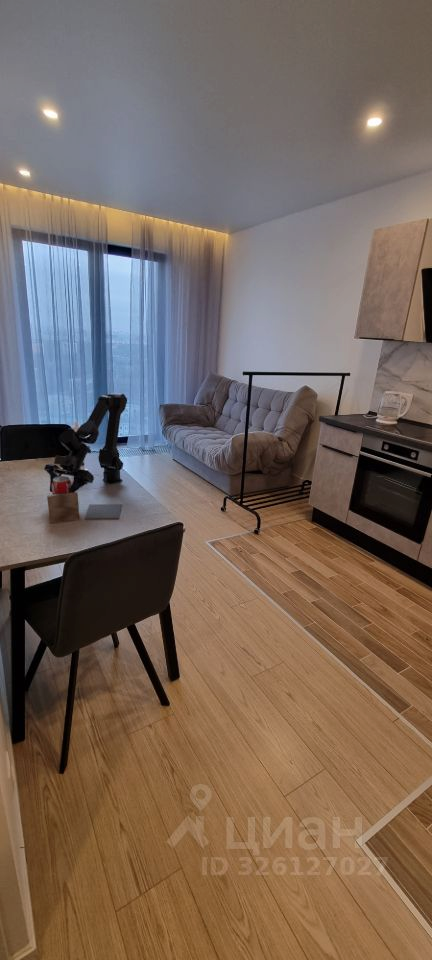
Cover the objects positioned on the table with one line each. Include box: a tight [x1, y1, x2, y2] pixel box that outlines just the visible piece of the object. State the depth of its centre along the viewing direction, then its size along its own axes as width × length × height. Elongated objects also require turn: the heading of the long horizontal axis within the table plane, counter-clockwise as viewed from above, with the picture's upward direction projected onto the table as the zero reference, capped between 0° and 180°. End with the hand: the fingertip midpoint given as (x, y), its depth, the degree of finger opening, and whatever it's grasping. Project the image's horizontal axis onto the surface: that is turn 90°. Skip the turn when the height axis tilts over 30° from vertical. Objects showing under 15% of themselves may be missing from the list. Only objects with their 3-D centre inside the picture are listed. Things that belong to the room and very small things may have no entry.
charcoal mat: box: [84, 503, 122, 521], centre depth 147 cm, size 12×12×1 cm
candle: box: [71, 419, 89, 471], centre depth 183 cm, size 7×7×25 cm
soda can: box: [51, 475, 73, 495], centre depth 146 cm, size 7×7×12 cm
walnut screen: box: [46, 491, 81, 524], centre depth 139 cm, size 10×4×9 cm, turn 112°
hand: (59, 493), depth 145 cm, fingers open, 8 cm apart
